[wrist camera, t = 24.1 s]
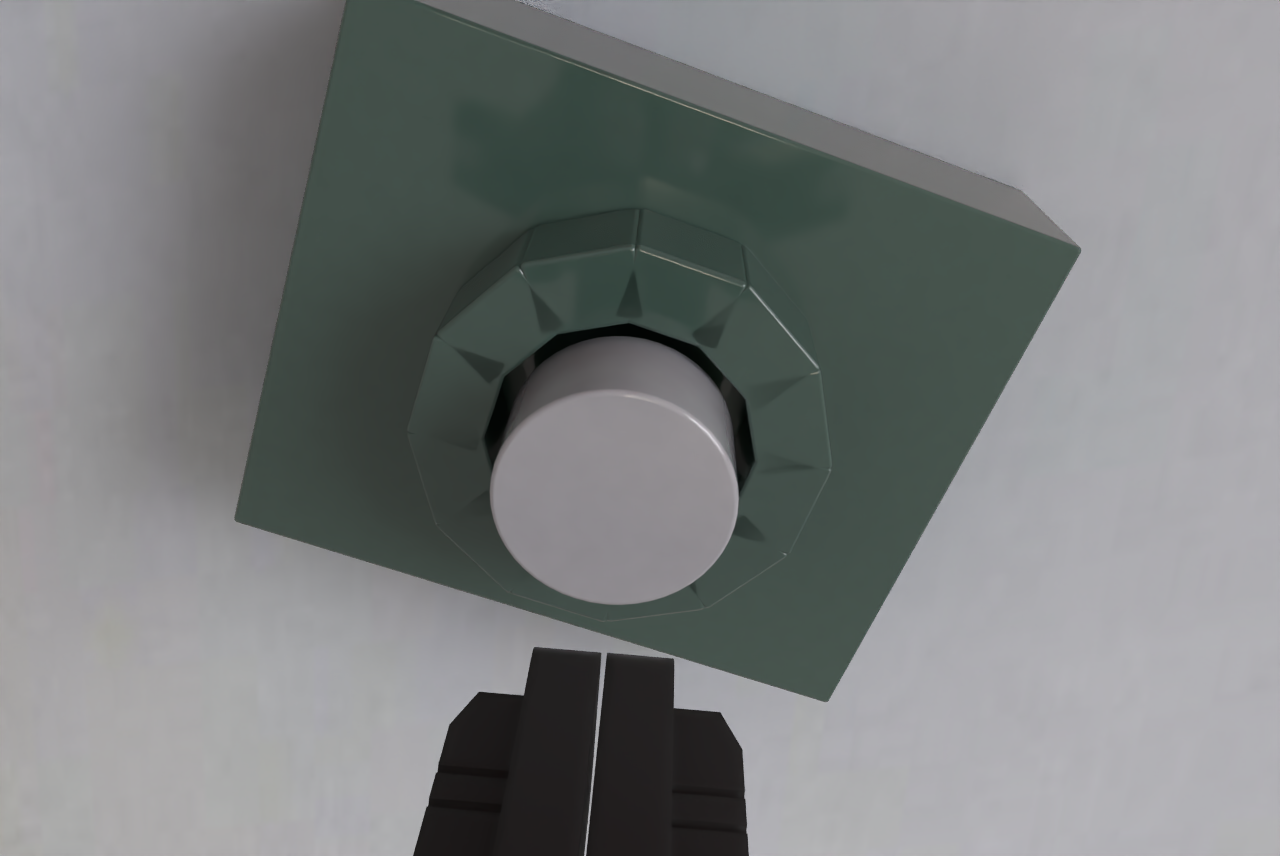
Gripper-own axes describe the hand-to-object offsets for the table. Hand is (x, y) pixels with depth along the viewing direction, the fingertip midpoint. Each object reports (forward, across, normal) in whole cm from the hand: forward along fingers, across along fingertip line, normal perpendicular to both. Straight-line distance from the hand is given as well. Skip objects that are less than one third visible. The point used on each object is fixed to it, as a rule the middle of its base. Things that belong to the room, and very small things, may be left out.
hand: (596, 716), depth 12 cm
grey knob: (+6, 0, 0) cm, 6 cm away
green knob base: (+12, 0, 0) cm, 12 cm away
